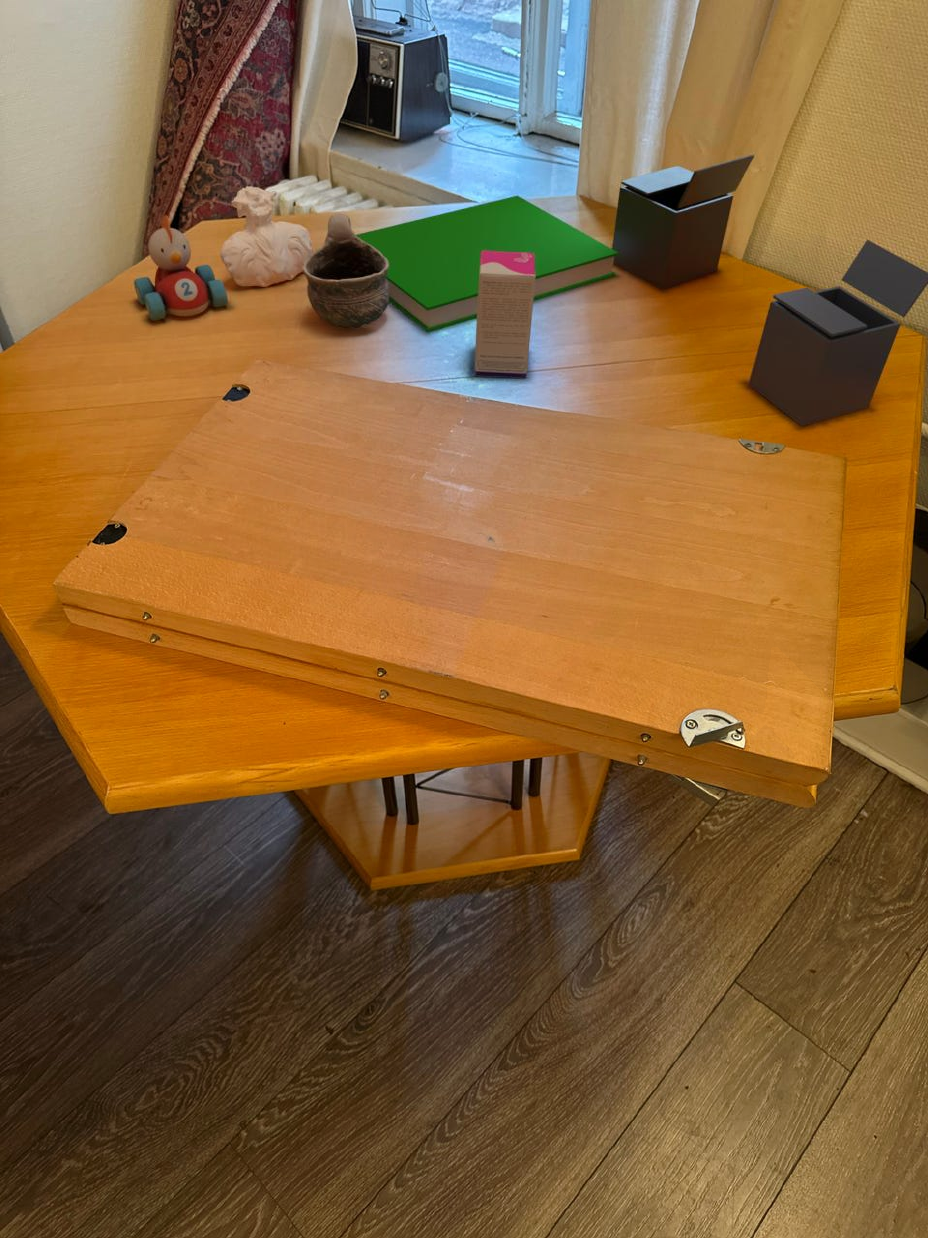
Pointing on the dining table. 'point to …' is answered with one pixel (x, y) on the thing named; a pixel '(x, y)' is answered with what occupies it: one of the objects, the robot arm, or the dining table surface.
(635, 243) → the back carton
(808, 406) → the front carton
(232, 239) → the bust
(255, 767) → the dining table surface
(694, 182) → the back flap
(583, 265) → the book
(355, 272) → the mug
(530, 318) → the supplement box
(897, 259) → the front flap
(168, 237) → the toy car
